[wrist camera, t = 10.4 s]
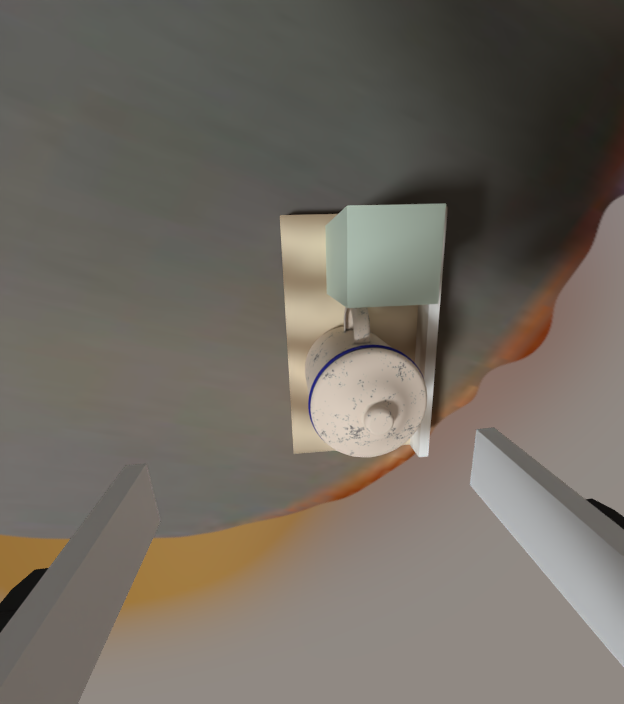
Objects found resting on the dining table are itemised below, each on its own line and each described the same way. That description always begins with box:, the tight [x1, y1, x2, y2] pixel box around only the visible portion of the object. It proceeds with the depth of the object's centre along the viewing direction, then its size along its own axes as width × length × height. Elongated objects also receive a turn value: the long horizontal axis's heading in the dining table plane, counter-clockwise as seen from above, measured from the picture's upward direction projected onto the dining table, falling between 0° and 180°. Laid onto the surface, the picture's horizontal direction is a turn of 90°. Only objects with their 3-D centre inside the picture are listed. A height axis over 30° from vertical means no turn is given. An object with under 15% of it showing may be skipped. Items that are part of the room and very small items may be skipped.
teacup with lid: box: [305, 307, 427, 457], centre depth 26 cm, size 12×9×12 cm
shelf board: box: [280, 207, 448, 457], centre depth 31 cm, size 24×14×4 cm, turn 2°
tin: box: [325, 204, 446, 308], centre depth 24 cm, size 6×6×10 cm
